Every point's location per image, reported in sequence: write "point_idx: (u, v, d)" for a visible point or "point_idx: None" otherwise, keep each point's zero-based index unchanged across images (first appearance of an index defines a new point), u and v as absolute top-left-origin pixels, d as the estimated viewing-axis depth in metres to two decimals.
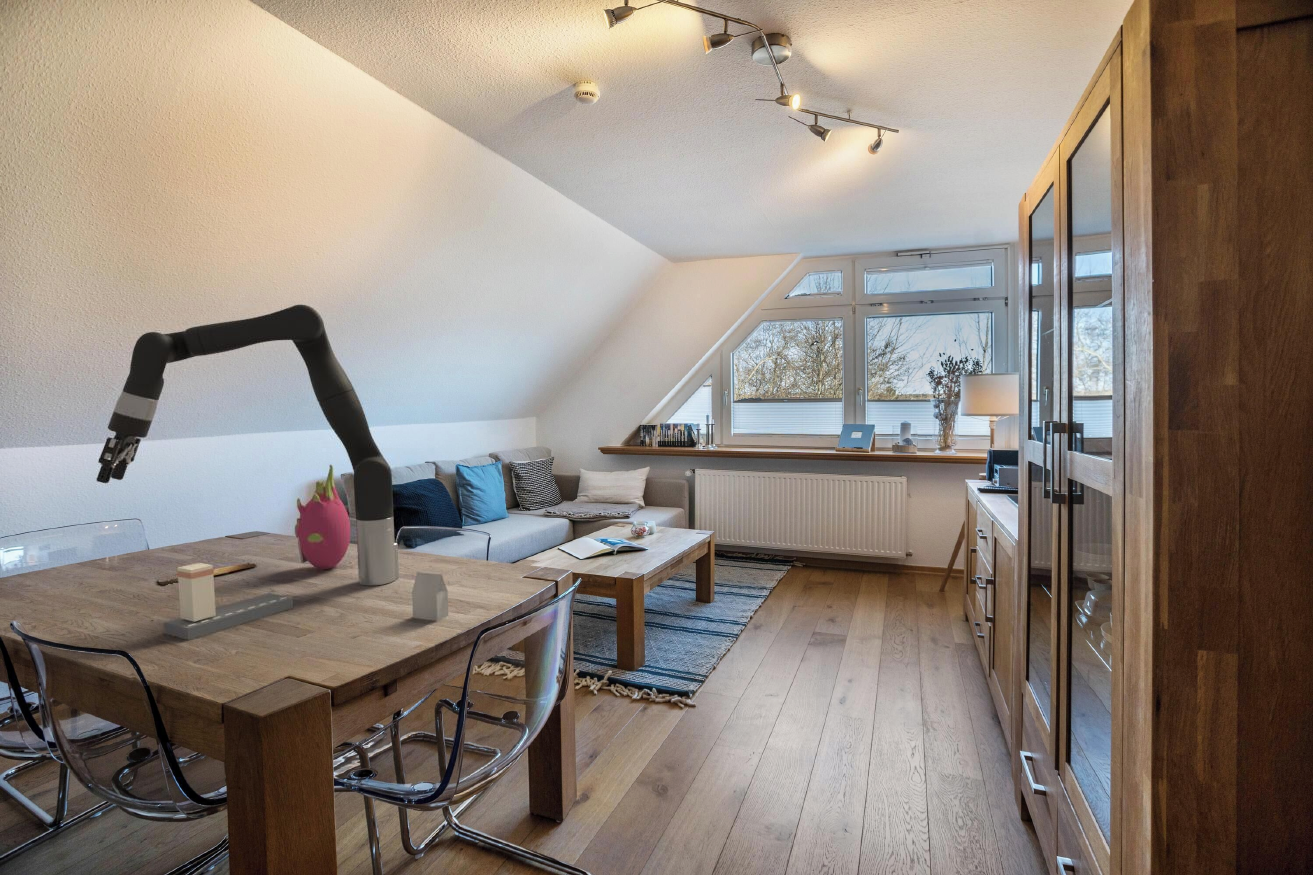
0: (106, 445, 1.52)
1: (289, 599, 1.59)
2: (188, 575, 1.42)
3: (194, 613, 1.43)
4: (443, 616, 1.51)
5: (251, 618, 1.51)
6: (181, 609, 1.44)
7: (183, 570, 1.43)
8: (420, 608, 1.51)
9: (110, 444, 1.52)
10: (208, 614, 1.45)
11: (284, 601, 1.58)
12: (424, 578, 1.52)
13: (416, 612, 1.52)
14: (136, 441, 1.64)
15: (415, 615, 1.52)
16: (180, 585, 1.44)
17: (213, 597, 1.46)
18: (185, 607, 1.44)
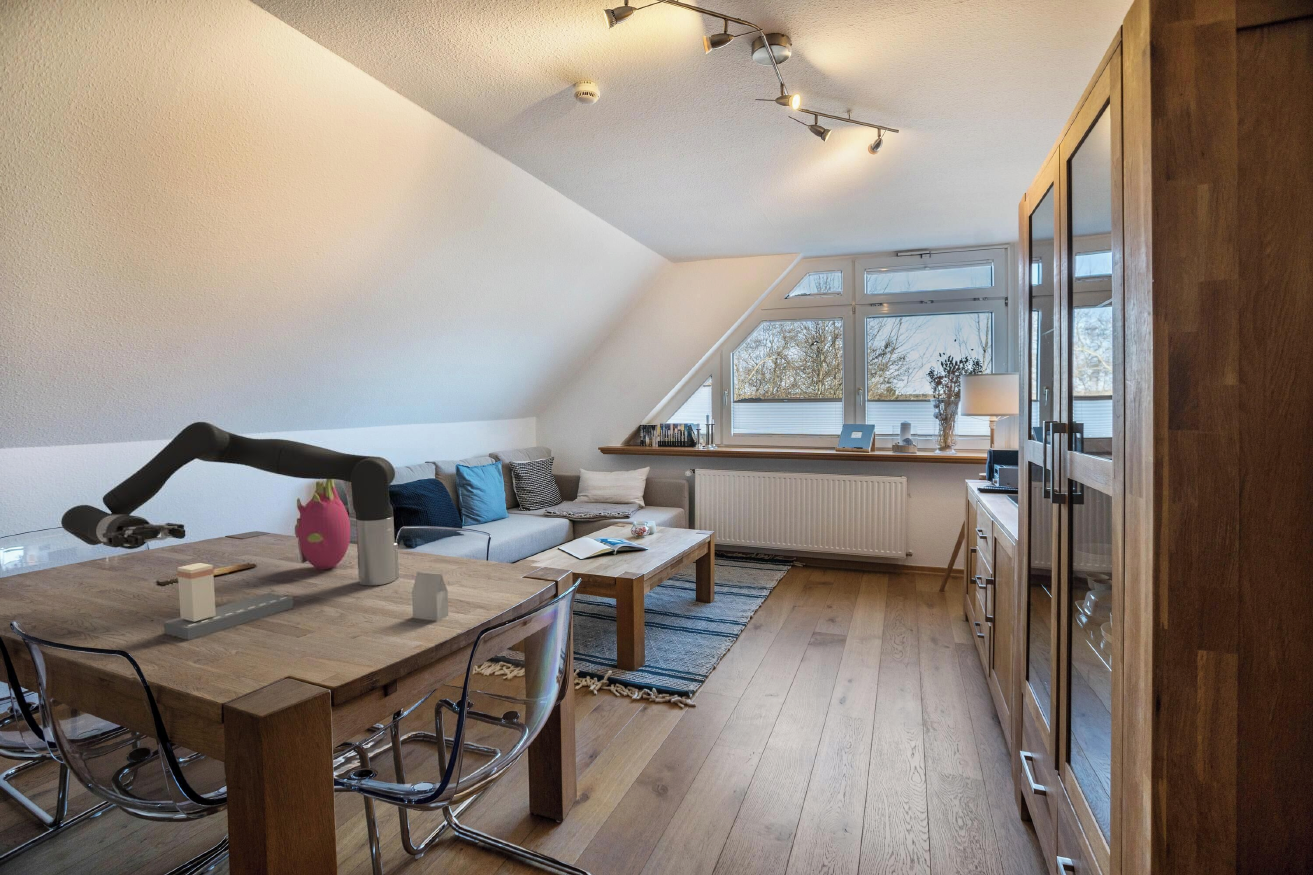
0: (105, 543, 1.48)
1: (289, 599, 1.59)
2: (188, 575, 1.42)
3: (194, 613, 1.43)
4: (443, 616, 1.51)
5: (251, 618, 1.51)
6: (181, 609, 1.44)
7: (183, 570, 1.43)
8: (420, 608, 1.51)
9: (104, 541, 1.48)
10: (208, 614, 1.45)
11: (284, 601, 1.58)
12: (424, 578, 1.52)
13: (416, 612, 1.52)
14: None
15: (415, 615, 1.52)
16: (180, 585, 1.44)
17: (213, 597, 1.46)
18: (185, 607, 1.44)
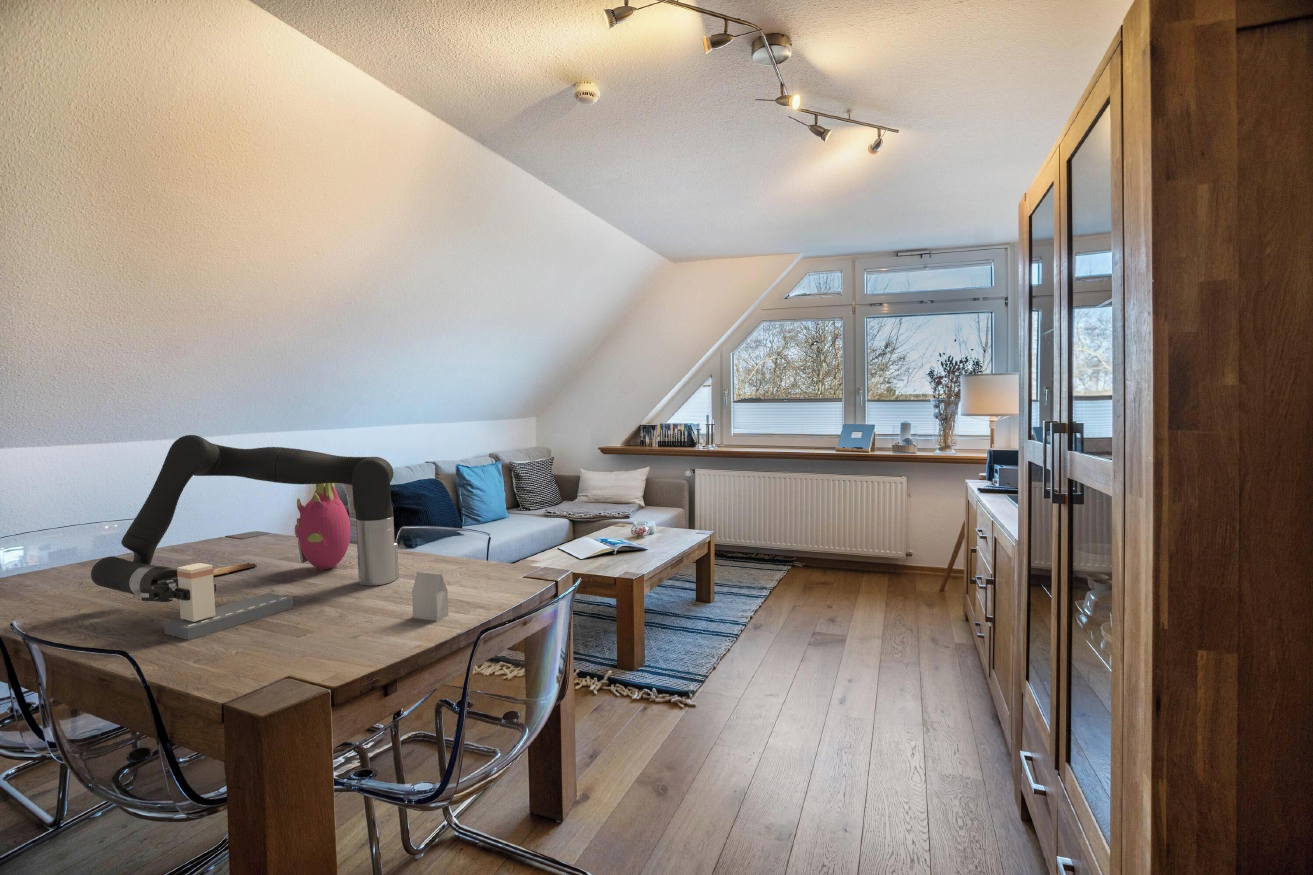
0: (147, 599, 1.43)
1: (289, 599, 1.59)
2: (188, 575, 1.42)
3: (194, 613, 1.43)
4: (443, 616, 1.51)
5: (251, 618, 1.51)
6: (181, 609, 1.44)
7: (183, 570, 1.43)
8: (420, 608, 1.51)
9: (145, 596, 1.43)
10: (208, 614, 1.45)
11: (284, 601, 1.58)
12: (424, 578, 1.52)
13: (416, 612, 1.52)
14: None
15: (415, 615, 1.52)
16: (179, 585, 1.44)
17: (213, 597, 1.46)
18: (185, 607, 1.44)
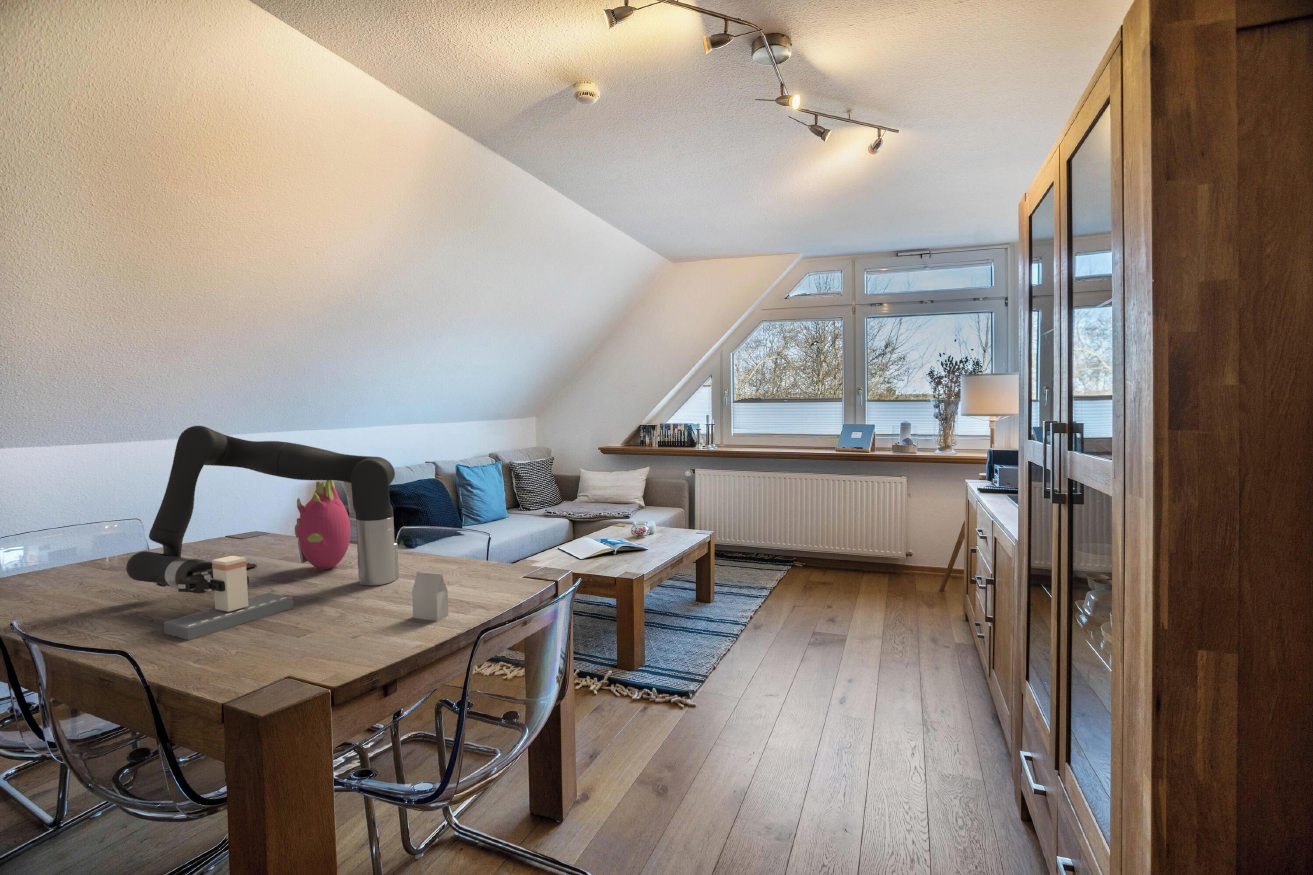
0: (183, 590, 1.49)
1: (289, 599, 1.59)
2: (223, 567, 1.48)
3: (229, 603, 1.49)
4: (443, 616, 1.51)
5: (251, 618, 1.51)
6: (215, 600, 1.51)
7: (218, 562, 1.49)
8: (420, 608, 1.51)
9: (181, 587, 1.49)
10: (241, 605, 1.51)
11: (284, 601, 1.58)
12: (424, 578, 1.52)
13: (416, 612, 1.52)
14: None
15: (415, 615, 1.52)
16: (214, 576, 1.50)
17: (246, 588, 1.52)
18: (220, 598, 1.50)
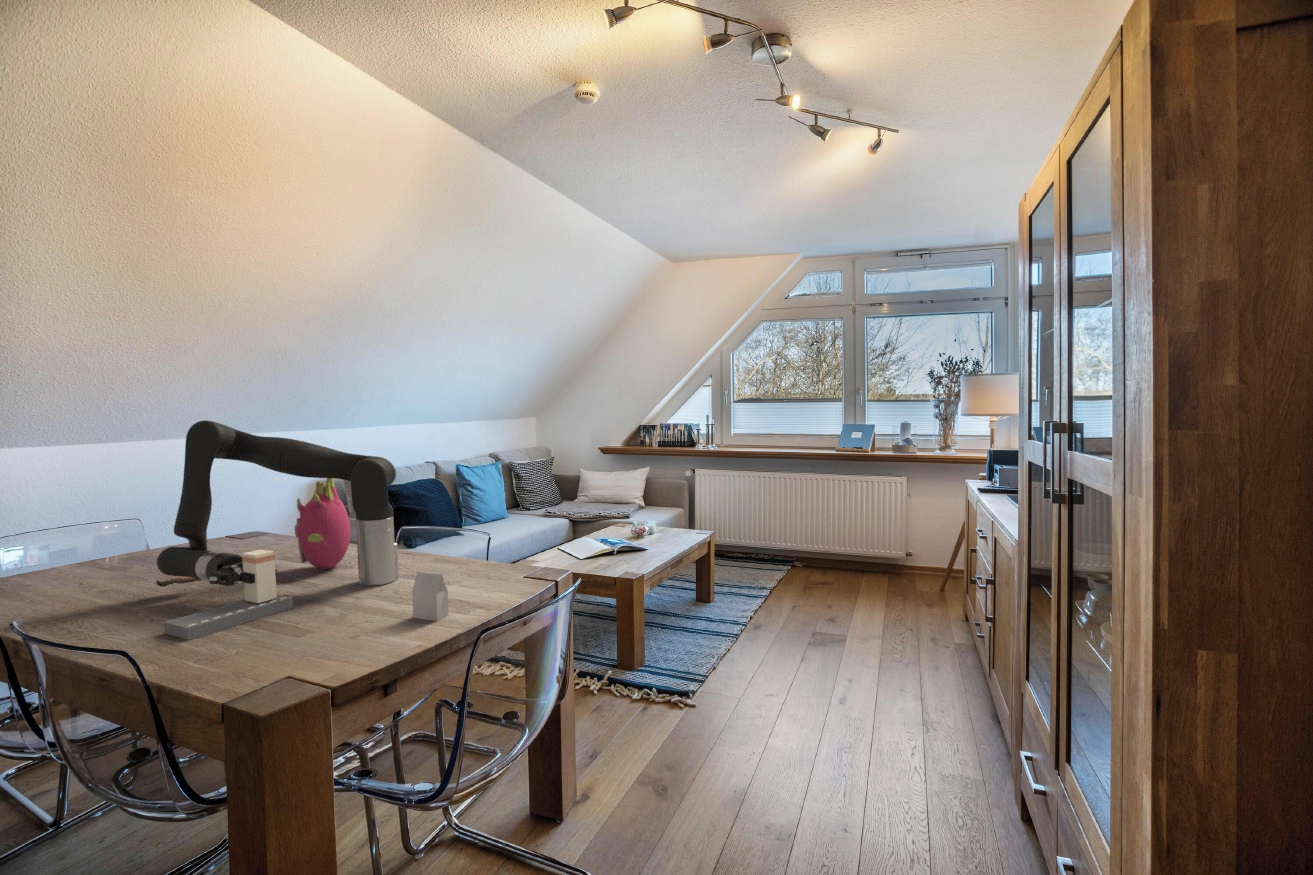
0: (215, 582, 1.55)
1: (289, 599, 1.59)
2: (253, 560, 1.54)
3: (258, 595, 1.55)
4: (443, 616, 1.51)
5: (251, 618, 1.51)
6: (245, 592, 1.57)
7: (248, 556, 1.55)
8: (420, 608, 1.51)
9: (213, 580, 1.55)
10: (270, 596, 1.57)
11: (284, 601, 1.58)
12: (424, 578, 1.52)
13: (416, 612, 1.52)
14: None
15: (415, 615, 1.52)
16: (244, 569, 1.56)
17: (274, 581, 1.58)
18: (250, 590, 1.56)
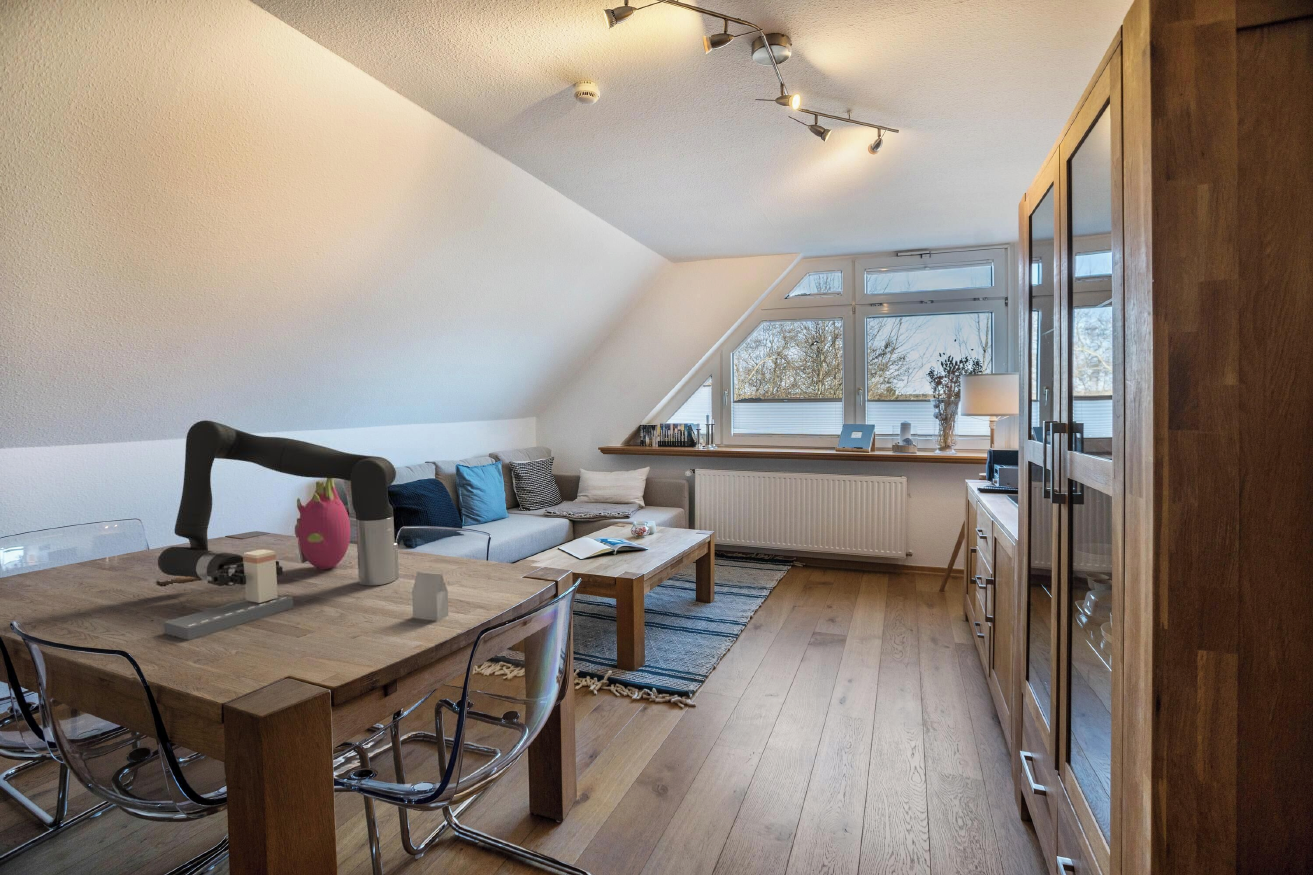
0: (210, 582, 1.55)
1: (289, 599, 1.59)
2: (254, 560, 1.54)
3: (259, 595, 1.55)
4: (443, 616, 1.51)
5: (251, 618, 1.51)
6: (246, 591, 1.57)
7: (249, 555, 1.55)
8: (420, 608, 1.51)
9: (209, 579, 1.55)
10: (271, 596, 1.57)
11: (284, 601, 1.58)
12: (424, 578, 1.52)
13: (416, 612, 1.52)
14: None
15: (415, 615, 1.52)
16: (245, 569, 1.56)
17: (275, 581, 1.58)
18: (251, 589, 1.56)
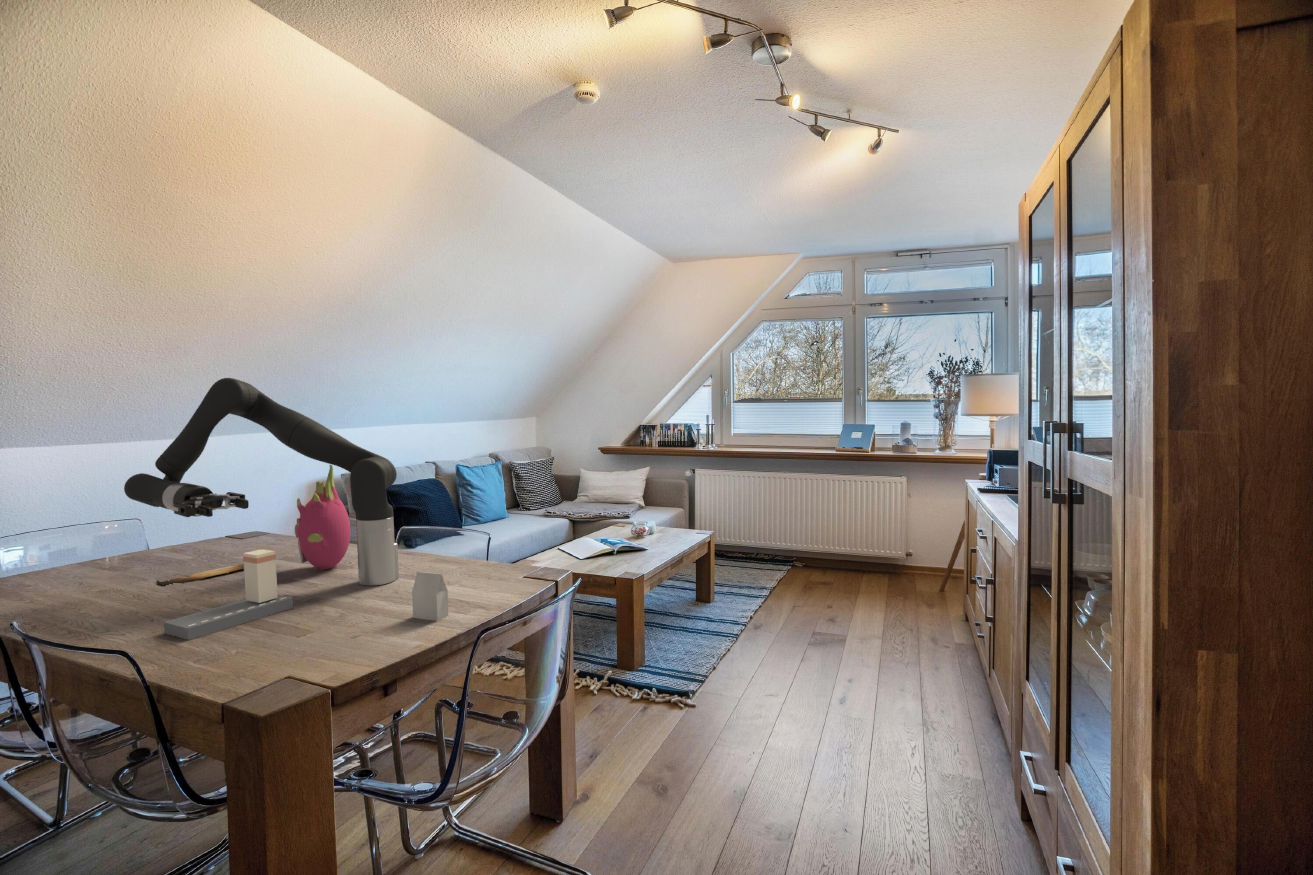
0: (177, 512, 1.59)
1: (289, 599, 1.59)
2: (254, 560, 1.54)
3: (259, 595, 1.55)
4: (443, 616, 1.51)
5: (251, 618, 1.51)
6: (246, 591, 1.57)
7: (249, 555, 1.55)
8: (420, 608, 1.51)
9: (175, 510, 1.60)
10: (271, 596, 1.57)
11: (284, 601, 1.58)
12: (424, 578, 1.52)
13: (416, 612, 1.52)
14: None
15: (415, 615, 1.52)
16: (245, 569, 1.56)
17: (275, 581, 1.58)
18: (251, 589, 1.56)
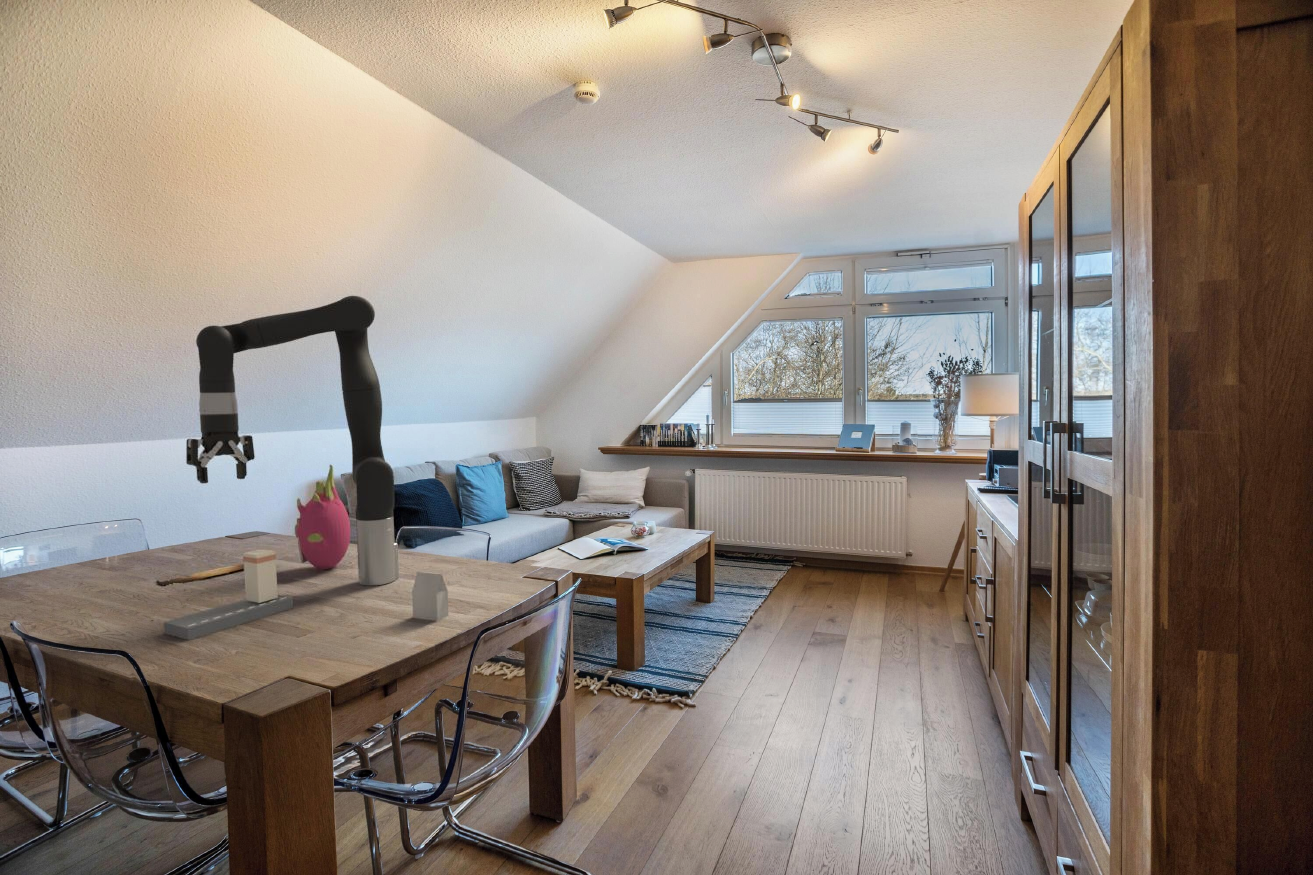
0: (187, 446, 1.54)
1: (289, 599, 1.59)
2: (254, 560, 1.54)
3: (259, 595, 1.55)
4: (443, 616, 1.51)
5: (251, 618, 1.51)
6: (246, 591, 1.57)
7: (249, 555, 1.55)
8: (420, 608, 1.51)
9: (188, 444, 1.54)
10: (271, 596, 1.57)
11: (284, 601, 1.58)
12: (424, 578, 1.52)
13: (416, 612, 1.52)
14: (246, 438, 1.64)
15: (415, 615, 1.52)
16: (245, 569, 1.56)
17: (275, 581, 1.58)
18: (251, 589, 1.56)
